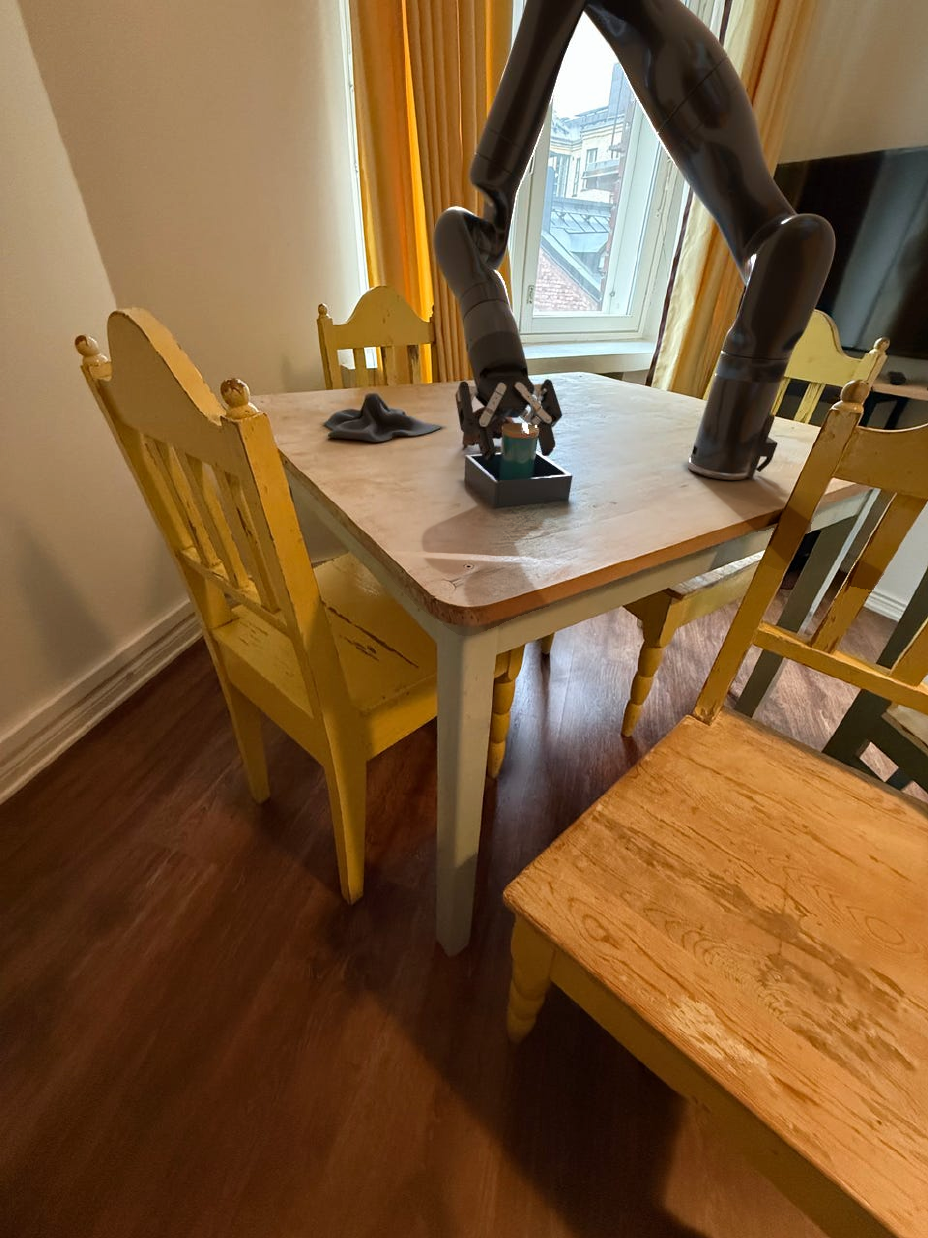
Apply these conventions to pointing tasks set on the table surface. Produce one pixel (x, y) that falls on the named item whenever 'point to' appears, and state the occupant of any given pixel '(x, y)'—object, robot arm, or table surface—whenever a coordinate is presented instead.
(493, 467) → the bin
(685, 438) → the table surface
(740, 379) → the robot arm
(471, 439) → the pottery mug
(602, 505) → the table surface
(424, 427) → the cloth
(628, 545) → the table surface
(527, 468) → the spice jar
